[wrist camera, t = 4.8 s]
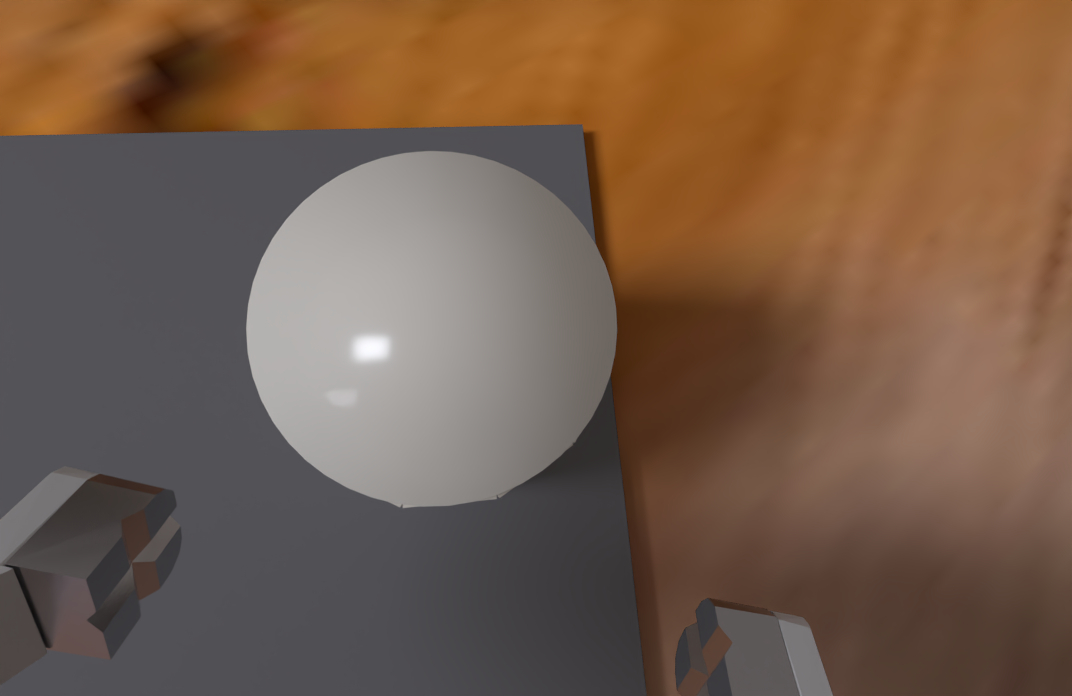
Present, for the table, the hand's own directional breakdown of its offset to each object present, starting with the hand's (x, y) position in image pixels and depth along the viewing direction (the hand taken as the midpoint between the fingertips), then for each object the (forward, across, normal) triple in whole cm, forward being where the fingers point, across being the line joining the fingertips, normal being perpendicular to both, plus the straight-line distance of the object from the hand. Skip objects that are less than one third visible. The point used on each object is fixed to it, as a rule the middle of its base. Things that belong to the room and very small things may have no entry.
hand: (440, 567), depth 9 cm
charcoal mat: (+7, +5, +6) cm, 11 cm away
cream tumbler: (+9, +1, +4) cm, 10 cm away
